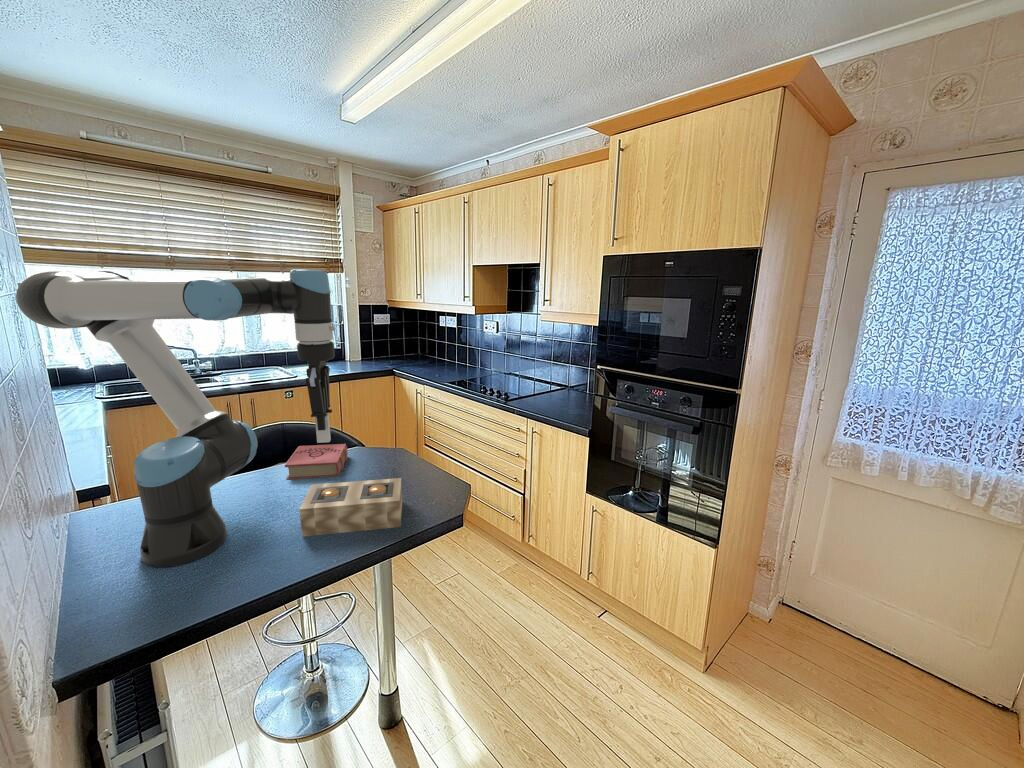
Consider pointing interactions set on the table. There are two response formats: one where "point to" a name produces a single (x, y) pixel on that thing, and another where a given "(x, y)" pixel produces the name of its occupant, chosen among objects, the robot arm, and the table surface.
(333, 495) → the peg left
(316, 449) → the book
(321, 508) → the block
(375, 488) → the peg right
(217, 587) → the table surface
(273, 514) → the table surface
